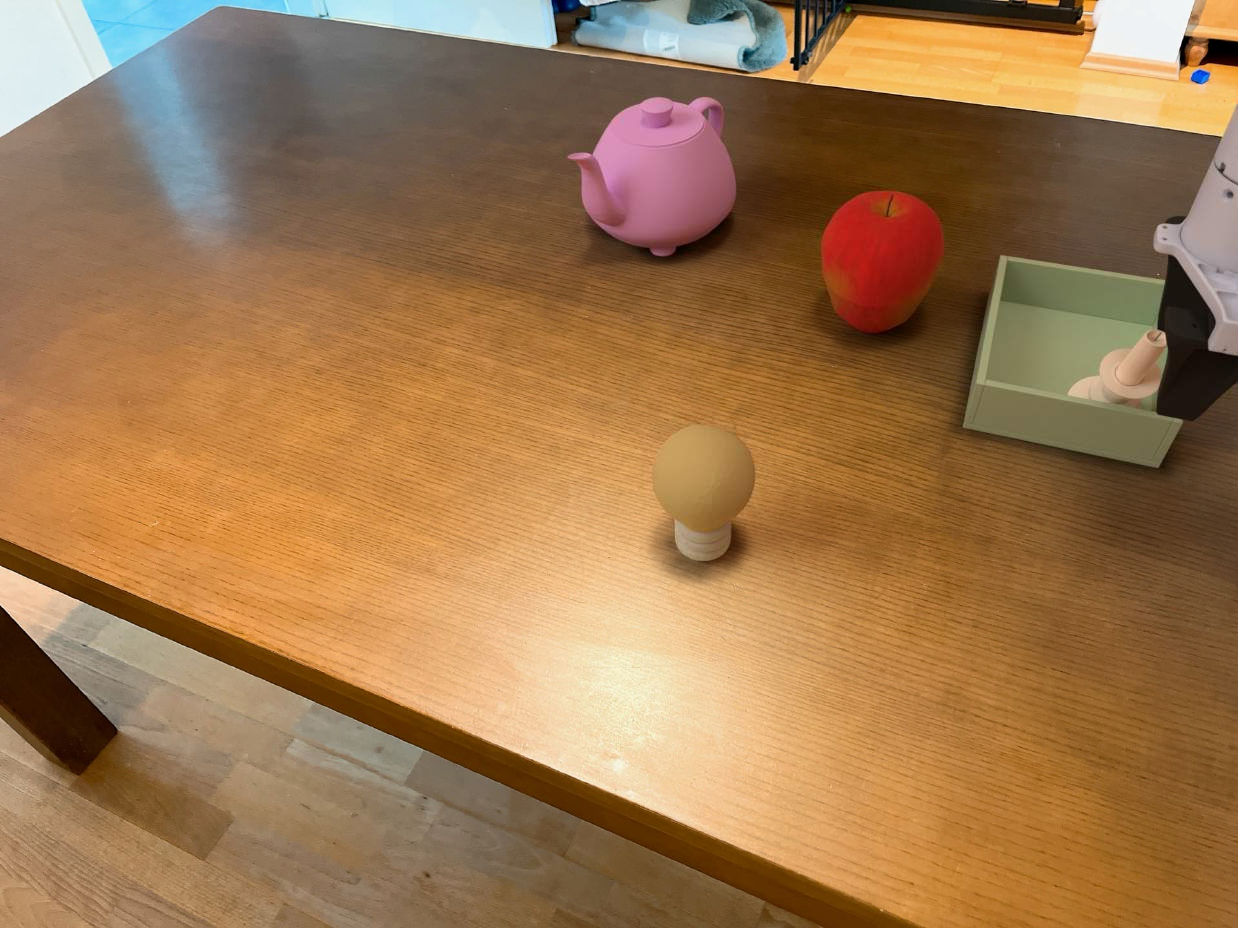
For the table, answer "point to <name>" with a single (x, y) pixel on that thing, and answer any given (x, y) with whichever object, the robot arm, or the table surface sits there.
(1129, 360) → the candle
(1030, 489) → the table surface
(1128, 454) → the open box
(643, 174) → the teapot
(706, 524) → the light bulb
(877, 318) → the apple
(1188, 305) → the robot arm
